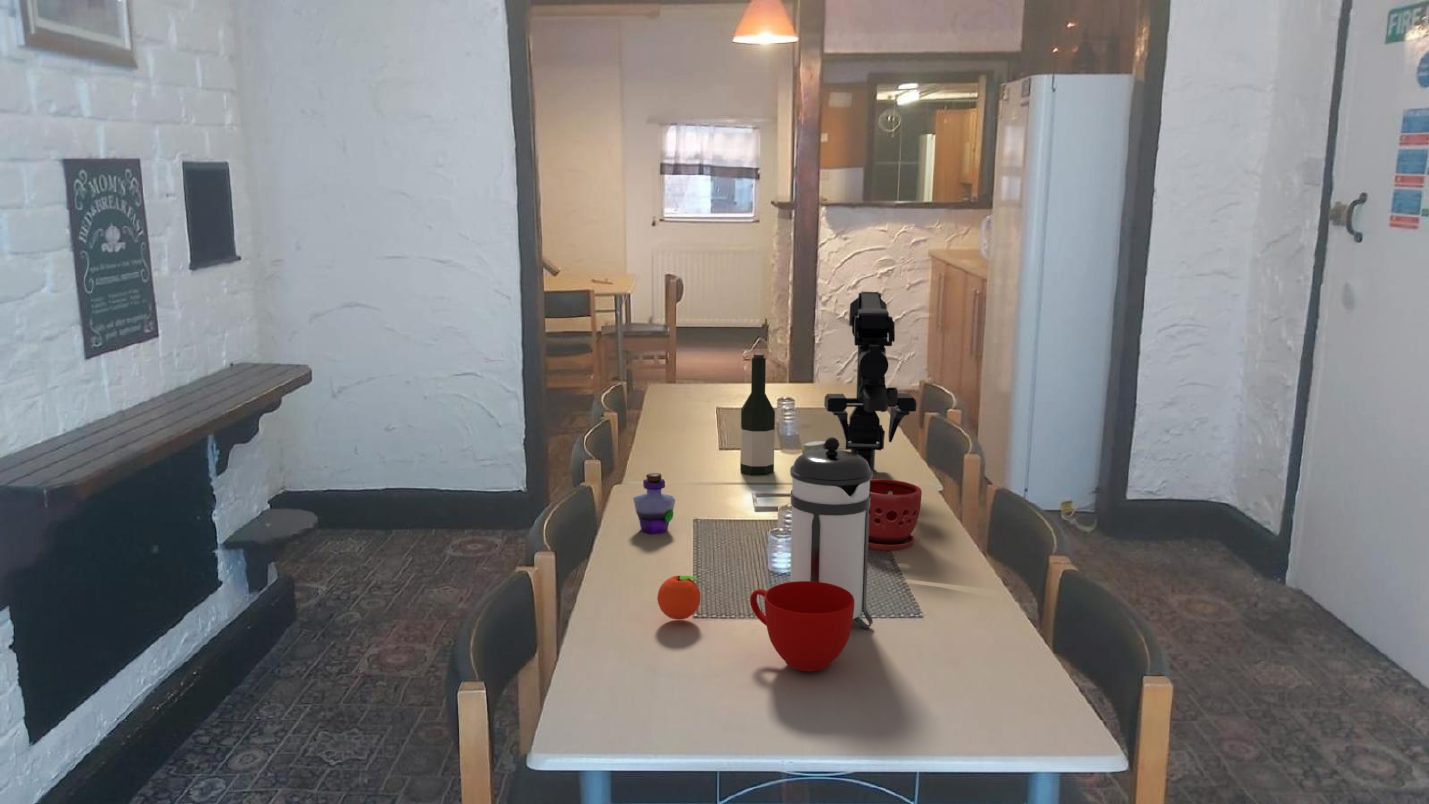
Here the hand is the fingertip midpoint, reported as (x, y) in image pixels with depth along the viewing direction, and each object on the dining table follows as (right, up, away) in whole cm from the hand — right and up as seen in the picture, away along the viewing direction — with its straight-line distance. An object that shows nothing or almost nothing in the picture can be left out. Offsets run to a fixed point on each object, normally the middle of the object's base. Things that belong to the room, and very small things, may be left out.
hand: (868, 442), depth 230 cm
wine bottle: (-23, -10, +26) cm, 36 cm away
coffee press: (-16, -26, -56) cm, 64 cm away
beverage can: (-10, -12, +15) cm, 21 cm away
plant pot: (0, -20, -21) cm, 28 cm away
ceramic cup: (-21, -29, -71) cm, 80 cm away
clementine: (-38, -26, -56) cm, 73 cm away
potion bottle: (-45, -18, -14) cm, 50 cm away
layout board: (-8, -15, +3) cm, 17 cm away
